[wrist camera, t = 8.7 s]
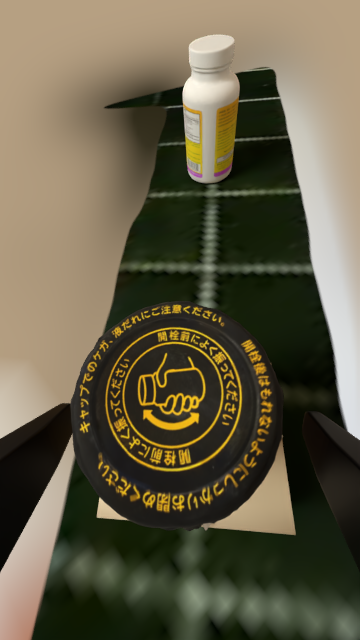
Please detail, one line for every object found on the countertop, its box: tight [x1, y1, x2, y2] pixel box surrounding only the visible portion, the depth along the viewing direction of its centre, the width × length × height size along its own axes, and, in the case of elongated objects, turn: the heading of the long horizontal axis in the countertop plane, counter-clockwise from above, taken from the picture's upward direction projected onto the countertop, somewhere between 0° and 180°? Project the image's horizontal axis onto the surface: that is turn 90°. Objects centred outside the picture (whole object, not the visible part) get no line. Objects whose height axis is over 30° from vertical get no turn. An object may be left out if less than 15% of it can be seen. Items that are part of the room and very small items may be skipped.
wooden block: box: [97, 440, 296, 535], centre depth 17 cm, size 10×12×4 cm
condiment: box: [70, 301, 284, 531], centre depth 10 cm, size 7×8×12 cm
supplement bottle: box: [183, 35, 239, 183], centre depth 28 cm, size 7×7×13 cm
